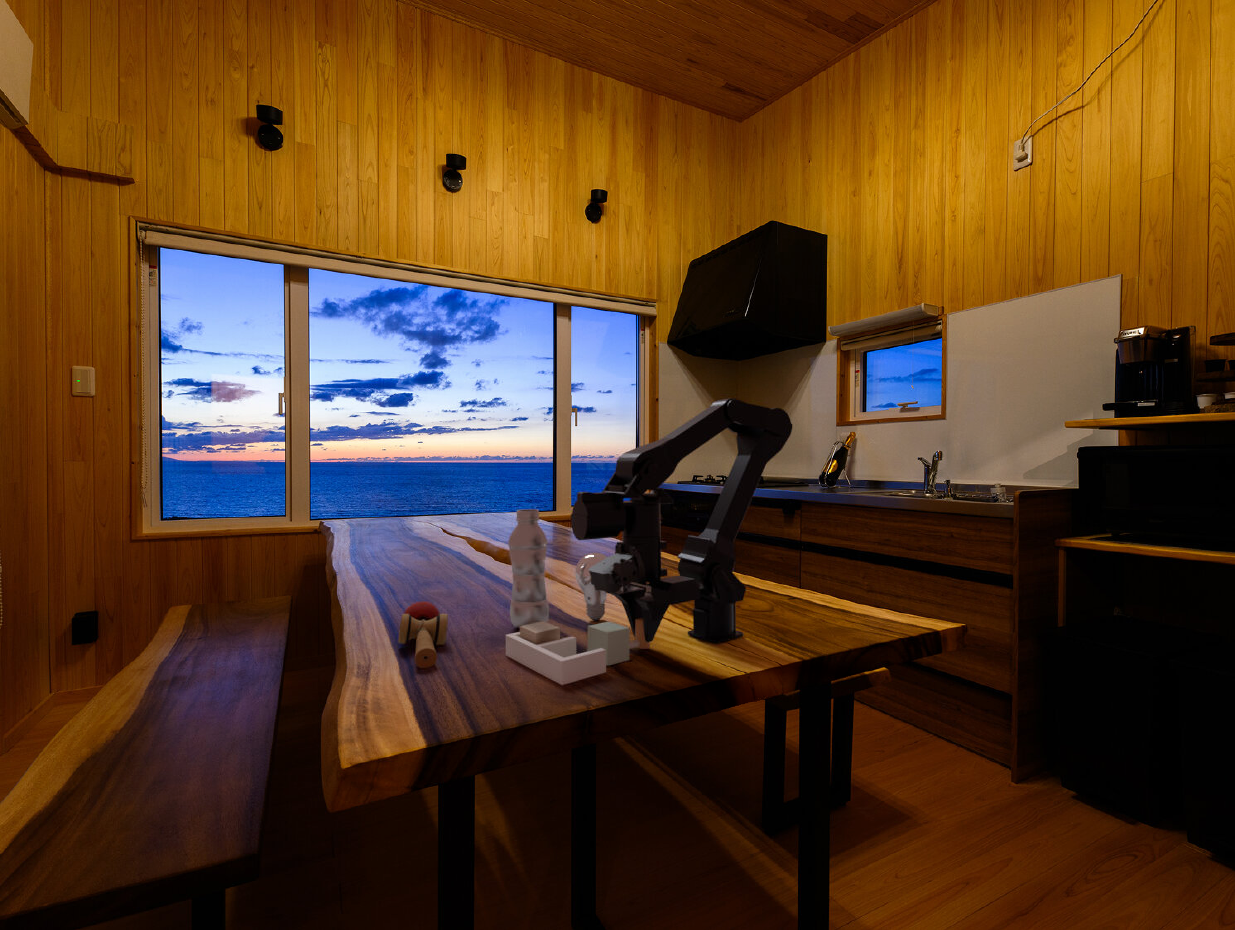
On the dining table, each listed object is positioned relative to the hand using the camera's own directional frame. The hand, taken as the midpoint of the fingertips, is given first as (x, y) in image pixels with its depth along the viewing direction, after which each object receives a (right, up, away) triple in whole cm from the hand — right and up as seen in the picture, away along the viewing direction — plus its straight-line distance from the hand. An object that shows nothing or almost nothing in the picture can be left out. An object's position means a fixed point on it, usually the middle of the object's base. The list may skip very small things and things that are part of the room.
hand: (643, 639), depth 88 cm
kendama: (-33, -2, +2) cm, 33 cm away
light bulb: (-8, -2, +16) cm, 18 cm away
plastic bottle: (-19, -2, +13) cm, 23 cm away
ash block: (-15, -2, -3) cm, 15 cm away
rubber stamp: (-3, -1, -3) cm, 4 cm away
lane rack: (-13, -2, -6) cm, 14 cm away
